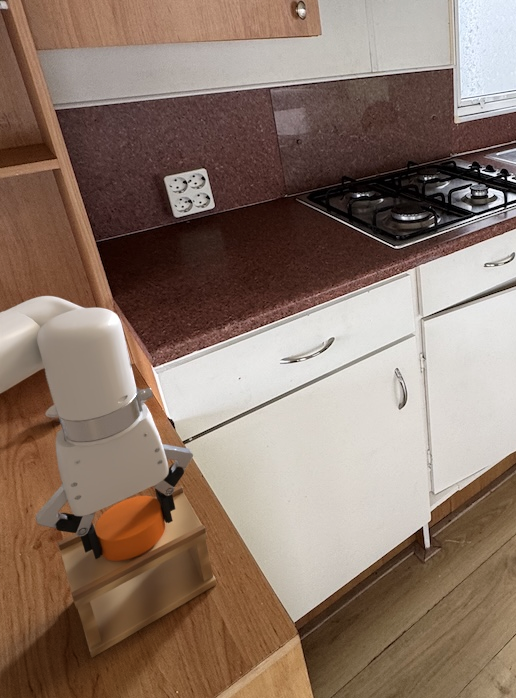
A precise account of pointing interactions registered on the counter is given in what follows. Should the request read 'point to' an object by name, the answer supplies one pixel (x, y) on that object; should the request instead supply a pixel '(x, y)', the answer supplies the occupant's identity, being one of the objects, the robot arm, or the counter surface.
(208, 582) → the gold metallic block
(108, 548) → the puck
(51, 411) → the screw
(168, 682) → the counter surface
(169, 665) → the counter surface
